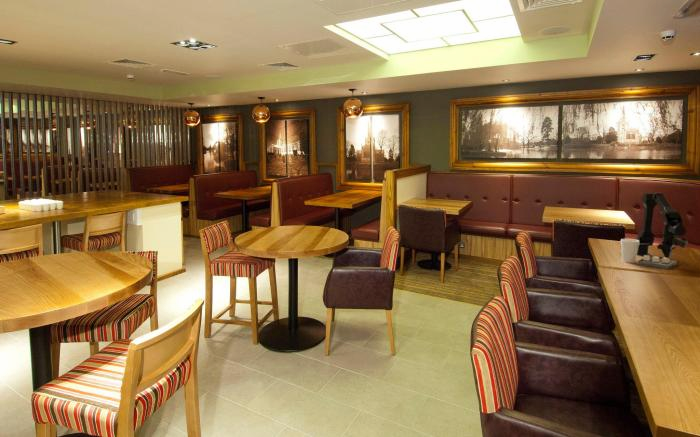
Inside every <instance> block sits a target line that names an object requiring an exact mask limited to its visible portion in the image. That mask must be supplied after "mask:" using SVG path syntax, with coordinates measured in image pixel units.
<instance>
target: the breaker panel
mask: <svg viewBox="0 0 700 437" xmlns="http://www.w3.org/2000/svg"><path fill="white" fill-rule="evenodd" d="M652 259H653V256H650V260H649V261H646V260H643V258H641V259H639V260H637V265H638V266H639V265H640V266H644V267H650V268H656V269H663V270H670V269H671V268H673V267H674V266H676V265H677V263H678V262H677V260H671V259H669V263H663V262H662V260H663V258H659V262H653V261H652Z"/></svg>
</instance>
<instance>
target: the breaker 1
mask: <svg viewBox="0 0 700 437" xmlns="http://www.w3.org/2000/svg"><path fill="white" fill-rule="evenodd" d="M650 257H651V255H643V258H642V259H643V260H646V261H649V260H650Z"/></svg>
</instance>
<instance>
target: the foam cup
mask: <svg viewBox="0 0 700 437" xmlns="http://www.w3.org/2000/svg"><path fill="white" fill-rule="evenodd" d="M635 239H636V238H635ZM635 239H634V238H621V239H620V249H621V261H622V263H623V262H624V263H628V264H629V263H631V264H633V263H635V262H636V259H637V256H638V255H637V251H638V247H639V244H640V241H639V240H635Z"/></svg>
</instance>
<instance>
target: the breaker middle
mask: <svg viewBox="0 0 700 437" xmlns="http://www.w3.org/2000/svg"><path fill="white" fill-rule="evenodd" d="M652 258H653V259H652V261H653V262H659V259H660V256H656V255H655V256H652Z"/></svg>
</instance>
